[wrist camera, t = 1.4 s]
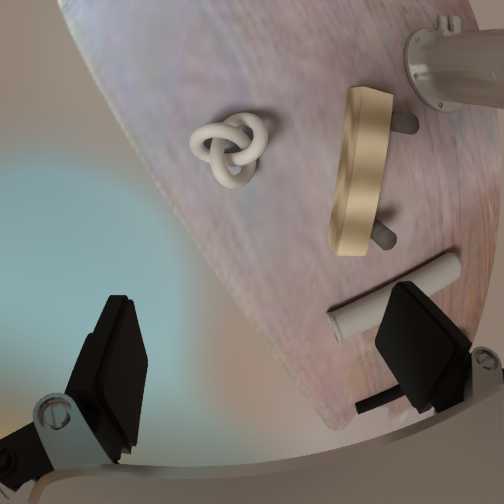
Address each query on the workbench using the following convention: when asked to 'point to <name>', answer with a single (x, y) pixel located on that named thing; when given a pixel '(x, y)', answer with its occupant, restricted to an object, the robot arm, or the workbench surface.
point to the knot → (221, 159)
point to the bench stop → (364, 171)
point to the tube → (374, 304)
